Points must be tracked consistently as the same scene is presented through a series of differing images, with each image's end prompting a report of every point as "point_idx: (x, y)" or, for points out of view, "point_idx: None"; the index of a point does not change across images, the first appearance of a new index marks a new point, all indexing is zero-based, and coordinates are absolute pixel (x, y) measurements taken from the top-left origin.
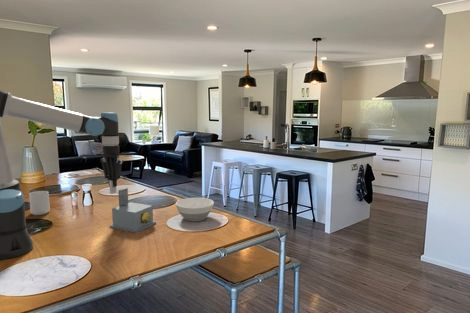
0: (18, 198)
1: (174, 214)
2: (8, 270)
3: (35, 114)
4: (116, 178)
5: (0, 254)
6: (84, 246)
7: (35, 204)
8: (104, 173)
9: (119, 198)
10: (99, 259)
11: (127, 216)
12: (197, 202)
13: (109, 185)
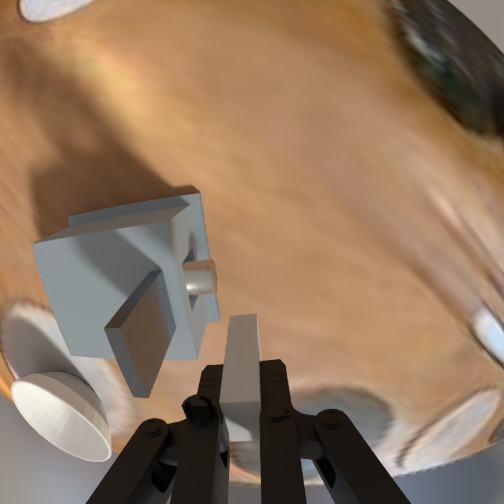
0: None
1: (139, 404)
2: None
3: None
4: (138, 429)
5: None
6: (119, 30)
7: None
8: (366, 456)
9: (138, 294)
10: (31, 40)
11: (80, 230)
12: (97, 448)
13: (275, 364)
